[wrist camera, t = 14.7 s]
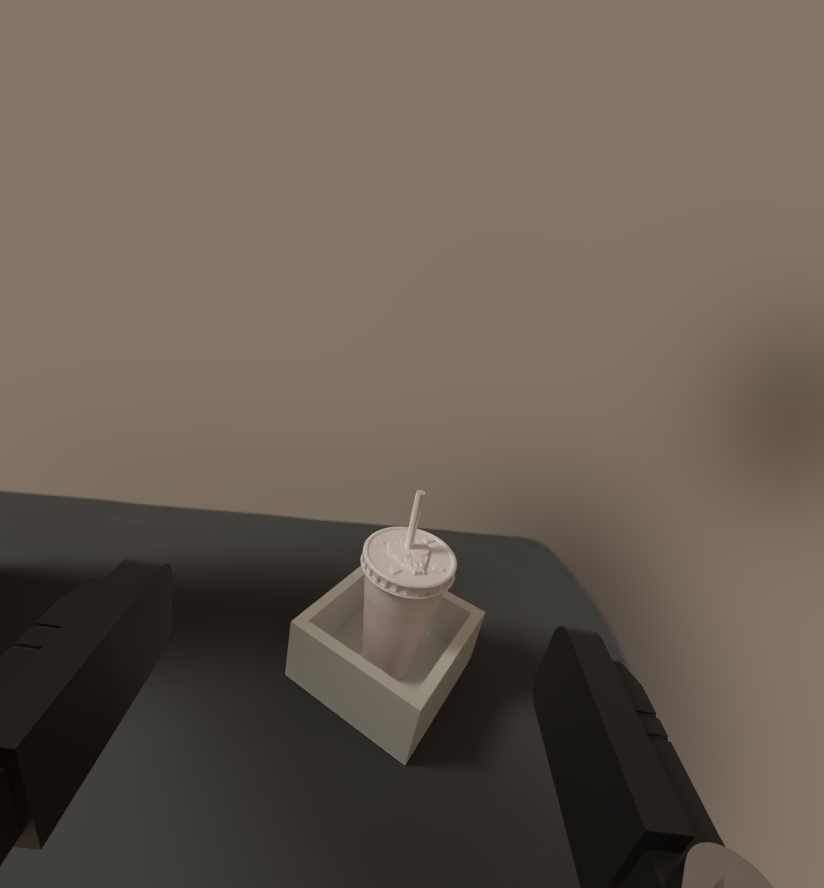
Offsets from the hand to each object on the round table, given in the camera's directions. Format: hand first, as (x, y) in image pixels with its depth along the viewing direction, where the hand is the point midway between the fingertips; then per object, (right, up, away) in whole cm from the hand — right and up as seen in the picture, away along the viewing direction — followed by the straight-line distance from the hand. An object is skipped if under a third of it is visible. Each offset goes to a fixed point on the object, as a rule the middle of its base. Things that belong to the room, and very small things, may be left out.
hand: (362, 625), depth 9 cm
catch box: (-1, -13, +25) cm, 28 cm away
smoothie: (-1, -12, +24) cm, 27 cm away
